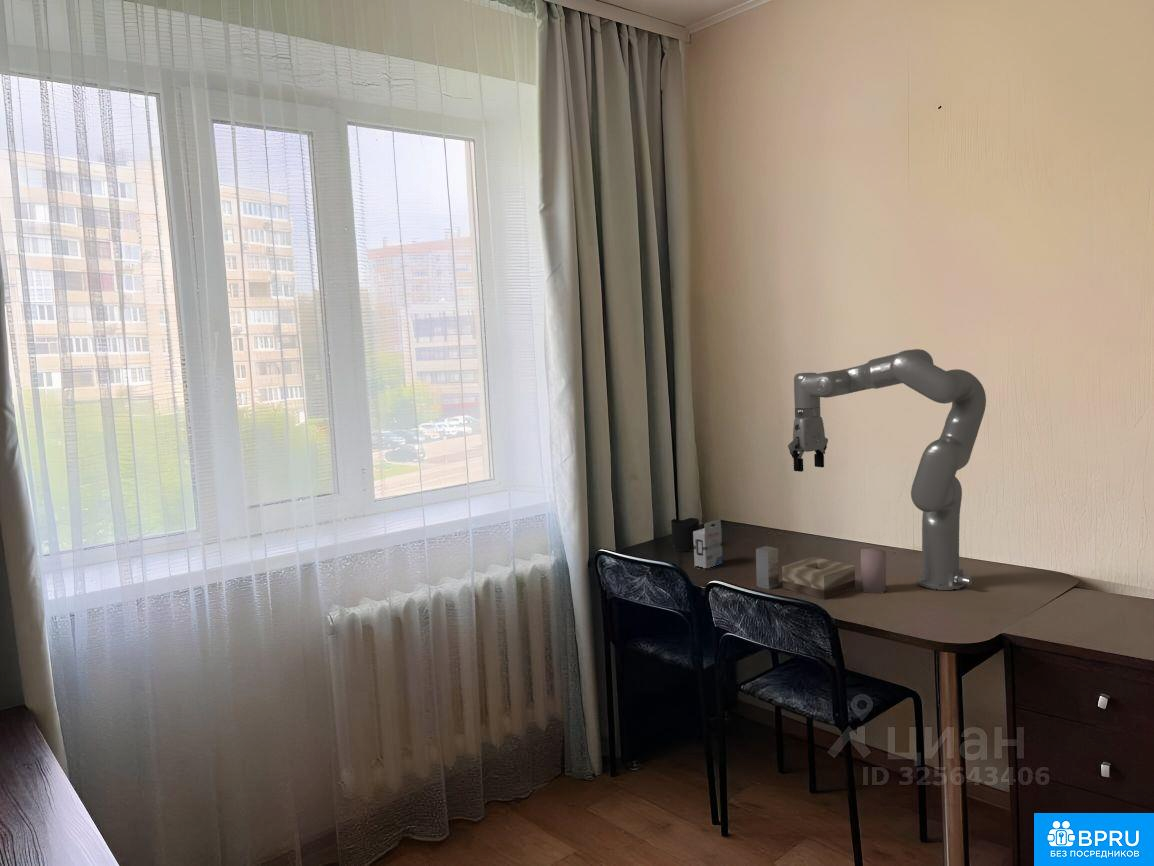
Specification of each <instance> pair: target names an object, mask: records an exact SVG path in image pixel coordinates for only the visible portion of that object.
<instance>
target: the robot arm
mask: <svg viewBox="0 0 1154 866" xmlns="http://www.w3.org/2000/svg"><path fill="white" fill-rule="evenodd" d="M902 384H904V385H905V386H907V387H908V388H910V389H912V390H913V391H915V392H916V393H919V394H920V395H922V396H923V397H926V398H927V399H928V400H931V401H932V402H935V403H939V404H951V408H950V410H949V412H948V414H947V417H946V419H945V421H944V426H943V428H942V432H941V434H940V436H939V438H938V439H935V440H933V441H931V442H930V443H929V444H928V445H927V447H925V449H924V451H923V452H922V454H921V455H922V456H921V458H920V460H919V464H918V467H917V469H916V472H915V475H914V479H913V481H912V485H911V489H910V499H911V501H912V503H913V505H914V506H915V507H916V508H917V509H918V510H920V511H921V512H922V519H921V574H920V575H918V576H917V577H916V578H915V581H916V584H917V585H919V586H920V587H922V586H923V588H925V587H926V589H929V588H930V590H936V589H937V590H939V591H954V590H953V589H956V590H961V589H963V588H964V587H966V585H968V586H971V585H972V583H973V577H972V576H971V575H965V574H964V570H963V569H962V568H960V525H961V524H960V520H961V519H960V518H961V516H960V515H961V506H962V499H963V488H962V485H961V482H960V480H959V479H958V477H956V475H957V471H960V470H961V469H963V468H965V467H966V466H967V465H968V464H969V462H970V459H971V456H972V452H973V449H974V446H975V443H976V440H977V437H978V434H979V430H980V427H981V424H982V422H983V418H984V414H985V411H986V406H987V395H986V390H985V389H984V386H983V384H982V383H981V381H980V380H979V379H978V378H977V377H976V376H975V375H974V374H972V373H971V372H969V371H966V370H964V369H958V368H957V369H956V368H955V369H948V370H944V369H943V368H941V367H939V366H937V365H935V364H934V359H933V357H932V356H931V354H930V353H929V352H928V351H926V350H924V349H920V348H916V349H915V348H914V349H906V350H902V351H900V352H898V353H894V354H890V355H886V356H881V357H877V358H873V359H870V360H869V361H868V362H866V363H864V364H861V365H857V366H852V367H849V368H843V369H839V370H832V371H831V370H830V371H824V372H819V373H817V372H800V373H799V372H798V373H796V374H795V375H794V377H793V394H794V395H793V396H794V398H793V399H794V400H793V401H794V421H793V427H792V428H793V429H792V441H791V442H790V443H789V444H788V445H787V448H788V450H789V454H790V455H791V458H792V460H793V471H794V472H804V458H802V457H803V455H804V453H805V452H808V453H809V452H814V455H813V457H814V459H813V460H814V467H815V468H824V467H825V454H826V450H827V448H828V446H827V445H828V442H829V438H828V437H826V436H825V435H826V434H825V426H824V421H823V417H822V415H821V398H824V399H825V398H826V399H828V398H833V397H837V396H843V395H848V394H853V393H856V392H857V393H858V392H861V391H867V390H871V389H874V390H875V389H876V390H878V389H883V388H887V387H891V386H896V385H902ZM962 587H963V588H962ZM960 588H961V589H960ZM937 590H936V591H937Z"/></svg>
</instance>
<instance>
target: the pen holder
mask: <svg viewBox="0 0 1154 866" xmlns="http://www.w3.org/2000/svg"><path fill="white" fill-rule="evenodd" d="M670 525H671V537H672V538H671V540H672V549H673V550H674V549H675V550H680V551H690V550H694V540H693V531H697V530H700V520H699V518H696V517H689V518H685V519H677V518H673V519H671V520H670ZM675 550H674V551H675Z"/></svg>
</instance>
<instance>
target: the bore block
mask: <svg viewBox="0 0 1154 866" xmlns="http://www.w3.org/2000/svg"><path fill="white" fill-rule="evenodd" d="M781 569H782V570H781V571H782V578H781V579H782V581H781V582H782V589H783V588H784V589H783V590H786V589H788V590H787V591H790V590H791V591H790V592H793V591H794V592H793V593H797V592H798V594H801V593H802V595H806V596H809V595H810V597H813V596H814V597H813V598H818V599H822V600H826V598H827V599H830V598H833V597H835V596H837V594H838V595H840V594H839V593H841V594H843V593H845V591H846V592H848V591H847V590H849V591H851V590H850V589H852V590H854V589H856V565H854V564H849V563H844V562H841V561H835V560H830V559H825V558H822V557H821V558H820V557H817V556H811V557H807V558H805V559H801V560H798V561H795V562H791V563H788V564H785V565H782V566H781ZM853 588H854V589H853ZM842 592H843V593H842ZM834 595H835V596H834ZM829 597H830V598H829Z"/></svg>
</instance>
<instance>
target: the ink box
mask: <svg viewBox="0 0 1154 866" xmlns="http://www.w3.org/2000/svg"><path fill="white" fill-rule="evenodd" d="M721 522H722V521H721V519H720V518H719V519H716V520H712V521H708V522H705V523H704V528H701V529H700V528H699V530H697V531H693V540H694V551H693V556H694V557H693V558H694V559H693V560H694V561H693V562H694V567H695V566H699V567H703V568H710V567H713V566H716V565H719V564H721V563H723V541H722V540H723V539H722V537H723V535H722V532H723V531H722V523H721ZM712 525H714V526H712ZM719 566H720V565H719ZM716 567H717V566H716ZM713 568H714V567H713ZM710 569H711V568H710Z"/></svg>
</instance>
